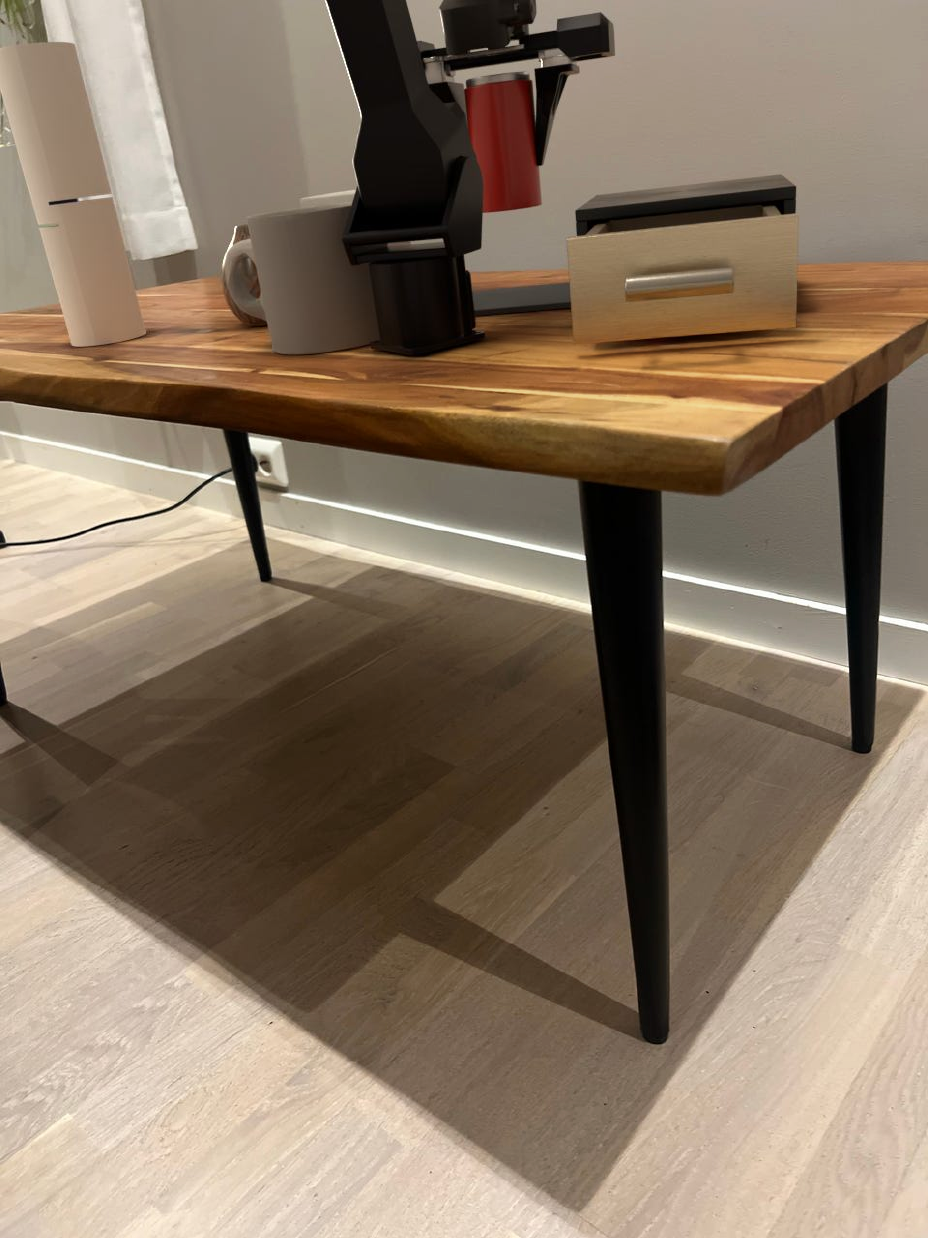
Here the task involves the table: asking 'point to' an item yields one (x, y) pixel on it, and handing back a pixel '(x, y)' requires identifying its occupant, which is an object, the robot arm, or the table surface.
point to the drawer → (684, 274)
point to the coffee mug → (304, 281)
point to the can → (504, 139)
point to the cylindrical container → (70, 191)
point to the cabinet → (688, 199)
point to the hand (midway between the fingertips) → (505, 169)
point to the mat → (522, 299)
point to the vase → (250, 280)
